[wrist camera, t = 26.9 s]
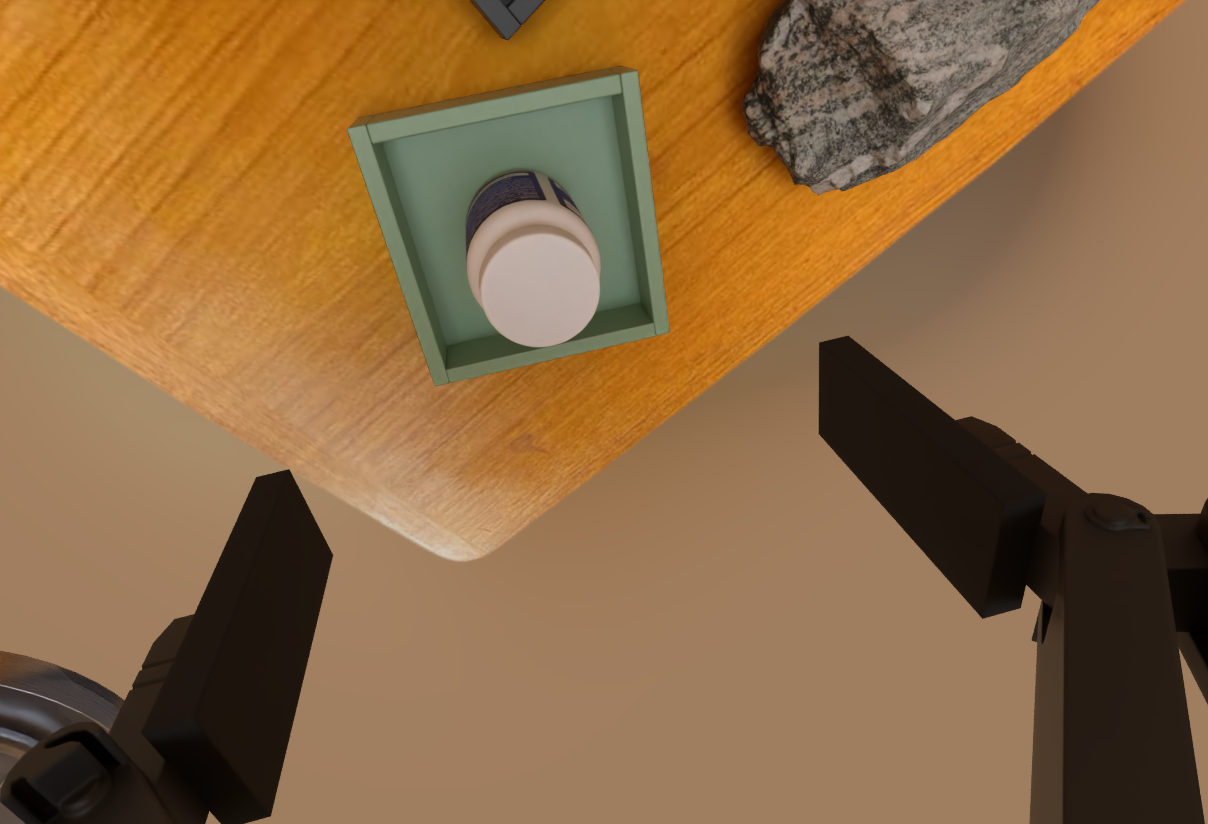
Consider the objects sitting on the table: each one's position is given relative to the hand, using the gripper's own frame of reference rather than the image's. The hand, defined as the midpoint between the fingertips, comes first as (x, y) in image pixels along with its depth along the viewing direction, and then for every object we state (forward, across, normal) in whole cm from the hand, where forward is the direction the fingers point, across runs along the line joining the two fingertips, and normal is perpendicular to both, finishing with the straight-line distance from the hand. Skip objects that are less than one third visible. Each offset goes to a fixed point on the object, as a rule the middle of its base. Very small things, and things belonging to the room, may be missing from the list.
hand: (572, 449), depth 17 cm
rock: (+21, +21, +6) cm, 30 cm away
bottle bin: (+21, 0, 0) cm, 21 cm away
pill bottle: (+21, 0, 0) cm, 21 cm away
